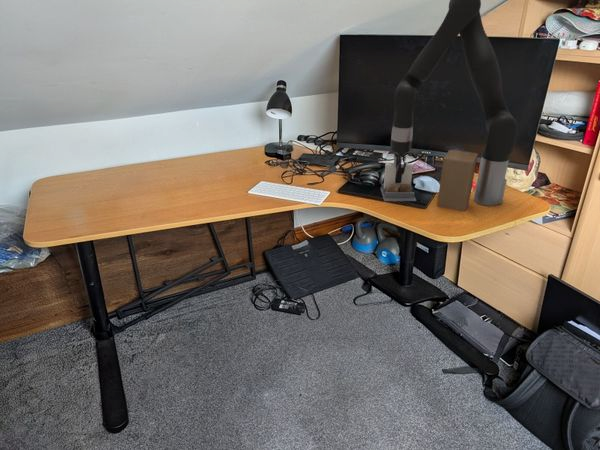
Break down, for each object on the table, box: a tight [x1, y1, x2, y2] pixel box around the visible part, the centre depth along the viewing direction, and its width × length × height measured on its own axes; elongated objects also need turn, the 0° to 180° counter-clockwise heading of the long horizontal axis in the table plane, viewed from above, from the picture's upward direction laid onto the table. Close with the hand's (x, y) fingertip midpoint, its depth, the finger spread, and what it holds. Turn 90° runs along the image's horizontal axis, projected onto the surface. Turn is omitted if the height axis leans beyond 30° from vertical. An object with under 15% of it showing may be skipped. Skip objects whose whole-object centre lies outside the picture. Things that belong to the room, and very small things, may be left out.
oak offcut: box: [386, 185, 398, 192], centre depth 173 cm, size 4×2×4 cm, turn 88°
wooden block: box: [436, 149, 478, 212], centre depth 163 cm, size 10×10×20 cm
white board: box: [383, 162, 414, 188], centre depth 175 cm, size 10×2×11 cm, turn 88°
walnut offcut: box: [399, 184, 413, 192], centre depth 173 cm, size 4×2×4 cm, turn 88°
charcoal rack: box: [380, 183, 417, 202], centre depth 175 cm, size 12×12×4 cm
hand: (397, 181), depth 176 cm, fingers closed on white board, 2 cm apart
